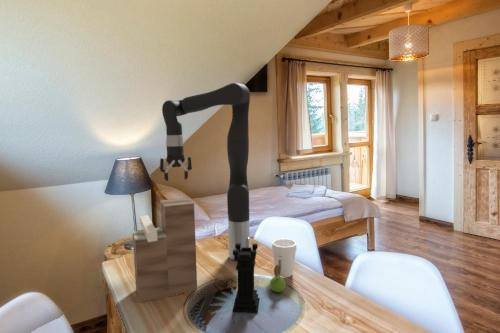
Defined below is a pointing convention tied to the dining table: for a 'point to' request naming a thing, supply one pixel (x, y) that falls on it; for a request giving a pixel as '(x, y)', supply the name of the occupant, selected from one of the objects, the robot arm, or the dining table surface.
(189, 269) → the stepped stand
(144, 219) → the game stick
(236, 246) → the chess piece
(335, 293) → the dining table surface
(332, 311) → the dining table surface
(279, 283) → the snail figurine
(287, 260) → the foam cup
